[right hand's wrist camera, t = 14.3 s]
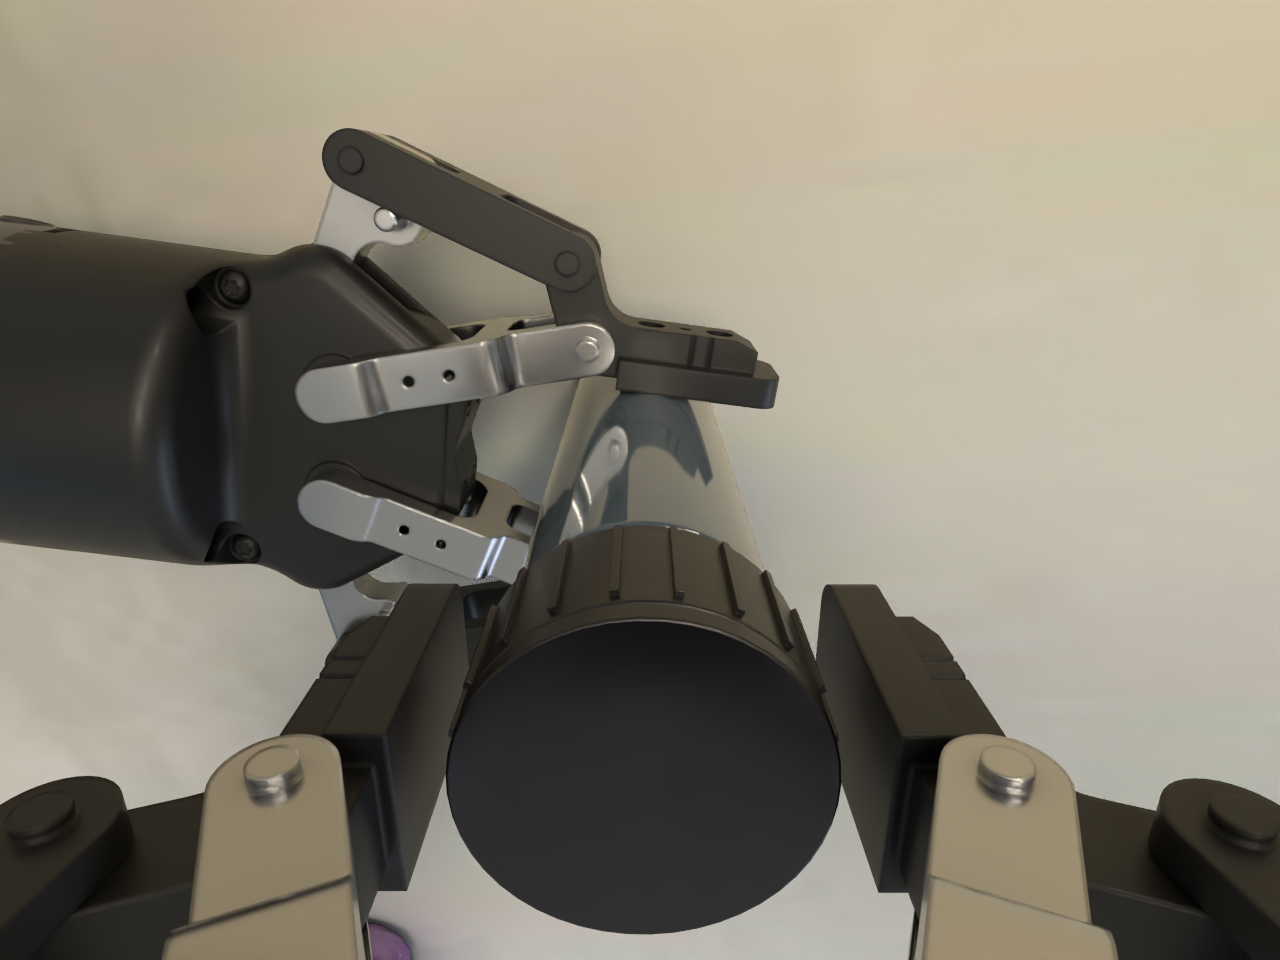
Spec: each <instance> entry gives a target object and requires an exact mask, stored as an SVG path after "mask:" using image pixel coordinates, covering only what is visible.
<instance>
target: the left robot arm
mask: <svg viewBox="0 0 1280 960" xmlns="http://www.w3.org/2000/svg"><path fill="white" fill-rule="evenodd" d="M322 161H323V166H324V169H325V171H326V173H327V175H328V176H329V178H330V179H331V180H332V181H333V182H332V185H331V189H330V192H329V195H328V198H327V202H326V205H325V208H324V211H323V214H322V218H321V221H320V224H319V227H318V231H317V234H316V237H315V240H314V243H313V244H306V245H300V246H296V247H293V248H291V249H289V250H287V251H284V252H282V253H280V254H277V255H257V254H249V253H242V252H235V251H227V250H220V249H212V248H205V247H198V246H190V245H183V244H176V243H168V242H161V241H154V240H146V239H139V238H131V237H124V236H117V235H109V234H101V233H94V232H87V231H80V230H72V229H65V228H58V227H55V226H54V225H52V224H49V223H45V222H41V221H37V220H32V219H27V218H21V217H14V216H3V215H2V216H0V542H2V543H10V544H19V545H27V546H35V547H44V548H53V549H61V550H70V551H79V552H88V553H96V554H105V555H113V556H121V557H130V558H138V559H147V560H155V561H164V562H172V563H180V564H189V565H224V564H258V565H262V566H265V567H268V568H271V569H273V570H276V571H278V572H280V573H282V574H284V575H285V576H287V577H289V578H290V579H292V580H293V581H295V582H297V583H299V584H301V585H303V586H306V587H309V588H314V589H319V591H320V594H321V596H322V599H323V602H324V605H325V608H326V610H327V613H328V616H329V619H330V621H331V624H332V627H333V630H334V633H335V635H336V638H337V642H336V644H335V645H334V647H333V648H332V650H331V651H330V653H329V654H328V656H327V658H326V660H325V665H326V664H327V662H328V660H331V656H332V654H333V653H334V651H335V650H336V648H337V647H338V645H339V644H340V642H341V641H342V639H343V638H344V636H345V634H347V633H348V632H350V631H351V630H352V629H354V628H355V627H357V626H358V625H359V624H361V623H362V622H364V621H365V620H366V619H368V618H369V617H371V616H389V615H390V613H391V612H392V610H393V608H394V606H395V605H396V603H397V601H398V600H399V598H400V596H401V594H402V593H403V591H404V589H405V588H406V586H407V585H408V583H406V582H399V583H385V582H380V581H378V580H376V579H374V578H372V577H371V576H370V575H369V574H368V573H369V572H371V571H373V570H375V569H377V568H379V567H381V566H382V565H384V564H386V563H388V562H390V561H392V560H394V559H396V558H398V557H400V556H402V555H407V556H409V557H412V558H414V559H417V560H420V561H422V562H425V563H428V564H430V565H433V566H435V567H438V568H441V569H443V570H446V571H448V572H451V573H454V574H456V575H459V576H462V577H464V578H468V579H473V580H479V579H483V578H485V577H492V578H496V579H499V580H500V581H493V582H487V583H481V584H474V585H468V586H461V587H460V589H461V593H462V599H463V609H464V620H465V631H466V643H467V654H468V665H469V667H470V664H471V661H472V658H473V656H474V653H475V650H476V647H477V644H478V641H479V639H480V636H481V633H482V630H483V627H484V624H485V622H486V619H487V616H488V613H489V610H490V608H491V606H492V605H495V606H498V604H499V603H500V601H501V599H502V598H503V596H504V595H505V593H506V591H507V590H508V589H509V587H510V586H511V585H512V584H513V583H514V582H515V580H516V578H517V574H518V571H519V570H520V569H521V568H522V565H523V562H524V558H525V555H526V552H527V549H528V545H529V542H530V539H531V536H532V532H533V529H534V526H535V523H536V519H537V516H538V513H539V510H540V505H538V504H535V503H533V502H530V501H528V500H526V499H524V498H522V497H521V496H520V495H519V494H518V492H517V491H516V490H515V489H514V488H512V487H511V486H509V485H507V484H505V483H503V482H500V481H498V480H495V479H493V478H490V477H488V476H485V475H483V474H480V473H478V472H476V469H477V455H476V450H475V446H474V441H473V436H472V432H471V427H472V424H473V421H474V418H475V415H476V413H477V410H478V407H479V404H480V401H481V398H486V397H493V396H498V395H502V394H505V393H508V392H510V391H512V390H515V389H517V388H521V387H526V386H533V385H539V384H546V383H553V382H559V381H566V380H573V379H579V378H586V377H593V376H604V377H612V378H617V380H616V388H615V390H619V391H626V392H634V393H642V394H654V395H660V396H665V397H673V398H680V399H688V400H696V401H704V402H711V403H719V404H727V405H734V406H742V407H750V408H758V409H769V408H773V407H774V402H775V397H776V392H777V387H778V382H779V376H778V375H777V373H776V372H775V370H774V369H773V368H772V366H771V365H770V364H768V363H765V362H762V361H759V360H757V356H758V352H757V351H756V349H755V348H754V346H753V345H752V343H751V342H750V341H749V340H747V339H745V338H743V337H742V336H740V335H738V334H736V333H735V332H733V331H731V330H724V329H717V328H707V327H702V326H695V325H687V324H680V323H672V322H665V321H657V320H650V319H642V318H635V317H631V316H628V315H626V314H624V313H622V312H621V311H620V310H618V309H617V308H616V307H615V305H614V304H613V303H612V301H611V299H610V297H609V294H608V291H607V287H606V282H605V278H604V274H603V269H602V265H601V249H600V245H599V243H598V241H597V239H596V238H595V237H594V236H593V235H592V234H591V233H590V232H588V231H587V230H585V229H583V228H580V227H578V226H576V225H574V224H572V223H570V222H568V221H566V220H564V219H562V218H560V217H558V216H556V215H554V214H552V213H550V212H548V211H546V210H543V209H541V208H539V207H537V206H535V205H533V204H531V203H529V202H527V201H525V200H523V199H521V198H519V197H517V196H515V195H513V194H511V193H509V192H506V191H504V190H502V189H500V188H498V187H496V186H494V185H492V184H490V183H488V182H486V181H484V180H482V179H480V178H478V177H476V176H474V175H472V174H469V173H467V172H465V171H463V170H461V169H459V168H457V167H455V166H453V165H451V164H449V163H447V162H445V161H443V160H441V159H439V158H437V157H435V156H433V155H430V154H428V153H426V152H424V151H422V150H420V149H418V148H416V147H414V146H412V145H410V144H408V143H406V142H404V141H402V140H400V139H398V138H395V137H393V136H389V135H384V134H380V133H375V132H370V131H365V130H357V129H352V128H345V129H340V130H337V131H336V132H334V133H333V134H331V135H330V136H329V137H328V139H327V140H326V142H325V144H324V147H323V152H322ZM430 231H433V232H435V233H437V234H439V235H441V236H443V237H445V238H448V239H450V240H452V241H454V242H456V243H458V244H460V245H462V246H465V247H467V248H469V249H471V250H473V251H475V252H477V253H479V254H482V255H484V256H486V257H488V258H490V259H492V260H494V261H496V262H499V263H501V264H503V265H505V266H507V267H509V268H511V269H513V270H515V271H518V272H520V273H522V274H524V275H526V276H528V277H530V278H532V279H535V280H537V281H539V282H541V283H543V284H545V285H546V288H547V292H548V295H549V299H550V303H551V307H552V311H553V312H552V313H545V314H539V315H533V316H525V317H520V316H509V317H502V318H496V319H489V320H483V321H476V322H470V323H463V324H457V325H450V326H445V325H444V324H443V323H442V322H441V321H439V320H438V319H437V318H436V317H435V316H434V315H433V314H431V313H430V312H429V311H428V310H427V309H426V308H425V307H424V306H422V305H421V304H420V303H419V302H418V301H417V300H416V299H414V298H413V297H412V296H411V295H410V294H409V293H408V292H407V291H405V290H404V289H403V288H402V287H401V286H400V285H399V284H397V283H396V282H395V281H394V280H393V279H392V278H391V277H390V276H388V275H387V274H386V273H385V272H384V271H383V270H382V269H380V268H379V267H378V266H377V265H376V264H375V263H374V262H372V261H371V260H370V259H369V258H368V257H367V255H368V252H369V251H370V250H371V248H372V247H373V246H374V245H376V244H377V243H383V244H387V245H390V246H395V247H402V246H407V245H410V244H414V243H418V242H420V241H422V240H423V239H425V238H426V237H427V236H428V234H429V233H430Z"/></svg>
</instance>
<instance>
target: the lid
mask: <svg viewBox="0 0 1280 960" xmlns="http://www.w3.org/2000/svg"><path fill="white" fill-rule="evenodd" d="M463 688H464V689H463V691H462V694H461V697H460V700H459V703H458V706H457V709H456V712H455V714H454V717H453V720H452V723H451V726H450V729H449V735H448V736H449V737H451V741H450V745H449V749H448V753H447V763H446V787H447V796H448V800H449V805H450V809H451V813H452V817H453V819H454V822H455V824H456V826H457V829H458V831H459V834H460V836H461V838H462V839H463V841H464V843H465V844H466V846H467V848H468V849H469V851H470V853H471V854H472V855H473V857H474V858H475V859H476V860H477V862H478V863H479V864H480V865H481V867H482V868H483V869H484V870H485V871H486V872H487V873H488V874H489V875H490V876H491V877H492V878H493V879H494V880H495V881H496V882H497V883H498V884H499V885H500V886H502V887H503V888H504V889H506V890H507V891H508V892H510V893H511V894H512V895H514V896H515V897H517V898H518V899H520V900H521V901H523V902H525V903H526V904H528V905H530V906H532V907H533V908H535V909H537V910H539V911H541V912H543V913H546V914H548V915H550V916H552V917H555V918H557V919H560V920H563V921H566V922H569V923H572V924H575V925H578V926H582V927H586V928H591V929H595V930H600V931H606V932H615V933H623V934H661V933H674V932H680V931H686V930H691V929H697V928H701V927H704V926H708V925H711V924H715V923H719V922H721V921H724V920H726V919H729V918H732V917H734V916H737V915H739V914H742V913H743V912H745V911H747V910H749V909H751V908H753V907H755V906H757V905H759V904H761V903H762V902H764V901H765V900H767V899H768V898H770V897H771V896H773V895H774V894H776V893H777V892H779V891H780V890H781V889H782V888H784V887H785V886H786V885H787V884H788V883H789V882H791V881H792V880H793V879H794V878H795V877H796V876H797V875H798V874H799V873H800V872H801V871H802V870H803V869H804V867H805V866H806V865H807V864H808V863H809V862H810V861H811V859H812V858H813V856H814V855H815V853H816V852H817V851H818V849H819V848H820V846H821V845H822V843H823V841H824V839H825V837H826V835H827V833H828V831H829V829H830V827H831V825H832V822H833V819H834V816H835V812H836V809H837V806H838V802H839V795H840V788H841V759H840V754H839V748H838V743H837V742H838V741H839V737H838V733H837V730H836V727H835V724H834V721H833V719H832V716H831V713H830V710H829V707H828V705H827V702H826V699H825V696H824V694H823V693H825V692H827V691H826V688H825V685H824V682H823V680H822V677H821V674H820V672H819V669H818V666H817V663H816V661H815V658H814V655H813V653H812V650H811V647H810V644H809V642H808V639H807V636H806V633H805V631H804V628H803V625H802V623H801V620H800V617H799V614H798V612H797V610H796V609H793V610H790V609H789V607H788V605H787V603H786V601H785V599H784V597H783V596H782V594H781V593H780V592H779V590H778V589H777V588H776V586H775V585H774V582H773V579H772V576H771V574H770V573H769V572H768V571H767V570H765V571H764V572H762V571H761V570H760V569H759V568H758V567H757V566H756V565H754V564H753V563H752V562H751V561H749V560H748V559H747V558H745V557H744V556H743V555H741V554H740V553H738V552H736V551H735V550H733V549H731V548H730V545H729V544H728V543H726V542H724V541H722V542H721V543H720V542H717V541H715V540H713V539H710V538H708V537H705V536H703V535H700V534H696V533H692V532H689V531H685V530H681V529H678V527H677V526H671V525H670V527H669V528H668V527H661V526H627V527H622V525H615V526H614V528H611V529H606V530H602V531H597V532H593V533H590V534H587V535H584V536H581V537H578V538H576V539H573V540H571V541H569V539H566V540H564V541H562V542H561V546H559V547H557V548H555V549H553V550H551V551H550V552H548V553H547V554H545V555H544V556H542V557H541V558H539V559H538V560H536V561H535V562H534V563H533V564H532V565H531V566H529V567H528V568H527V569H526V568H525V567H522V568H521V569H520V570H519V571H518V574H517V578H516V580H515V582H514V583H513V584H512V585H511V586H510V587H509V589H508V590H507V591H506V593H505V595H504V596H503V598H502V599H501V601H500V603H499V604H498V606H495V605H492V606H491V608H490V610H489V613H488V616H487V619H486V622H485V624H484V627H483V630H482V633H481V636H480V639H479V641H478V644H477V647H476V650H475V653H474V656H473V658H472V661H471V664H470V667H469V670H468V673H467V675H466V678H465V681H464V684H463Z"/></svg>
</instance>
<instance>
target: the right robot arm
mask: <svg viewBox="0 0 1280 960" xmlns="http://www.w3.org/2000/svg"><path fill="white" fill-rule="evenodd" d="M816 663H817V666H818V669H819V672H820V674H821V677H822V680H823V682H824V685H825V688H826V691H827V692H825V693H823V694H824V696H825V699H826V702H827V705H828V707H829V710H830V713H831V716H832V719H833V721H834V724H835V727H836V730H837V733H838V737H839V741H838V742H837V743H838V748H839V754H840V759H841V783H842V786H843V788H844V791H845V794H846V797H847V800H848V803H849V806H850V809H851V812H852V815H853V818H854V821H855V824H856V827H857V830H858V833H859V836H860V839H861V842H862V845H863V848H864V851H865V854H866V857H867V860H868V863H869V866H870V869H871V872H872V875H873V878H874V881H875V884H876V887H877V890H878V893H909V896H910V899H911V901H912V904H913V907H914V909H915V910H914V916H913V922H912V928H911V934H910V942H909V950H908V958H907V960H1280V805H1278V804H1276V803H1275V802H1273V801H1271V800H1269V799H1267V798H1265V797H1263V796H1261V795H1259V794H1257V793H1254V792H1252V791H1250V790H1247V789H1245V788H1242V787H1239V786H1235V785H1232V784H1229V783H1225V782H1221V781H1215V780H1209V779H1196V778H1193V779H1183V780H1179V781H1175V782H1173V783H1171V784H1169V785H1168V786H1167V787H1166V788H1164V790H1163V792H1162V794H1161V796H1160V799H1159V803H1158V806H1157V810H1156V811H1153V810H1149V809H1144V808H1140V807H1135V806H1131V805H1126V804H1122V803H1117V802H1113V801H1108V800H1104V799H1099V798H1095V797H1092V796H1088V795H1084V794H1082V793H1079V792H1076V791H1075V788H1074V785H1073V783H1072V781H1071V779H1070V777H1069V776H1068V774H1067V773H1066V772H1065V770H1064V769H1063V768H1062V767H1061V766H1060V765H1059V764H1058V763H1057V762H1055V761H1054V760H1053V759H1052V758H1050V757H1049V756H1048V755H1046V754H1044V753H1043V752H1041V751H1039V750H1038V749H1036V748H1034V747H1032V746H1030V745H1028V744H1025V743H1023V742H1020V741H1017V740H1014V739H1011V738H1007V737H1006V736H1005V734H1004V733H1003V731H1002V730H1001V728H1000V727H999V725H998V724H997V722H996V721H995V719H994V718H993V716H992V715H991V713H990V712H989V710H988V709H987V707H986V705H985V704H984V702H983V701H982V699H981V698H980V696H979V695H978V693H977V692H976V690H975V689H974V687H973V686H972V684H971V683H970V681H969V680H966V678H965V674H964V672H963V671H962V669H961V668H960V666H959V665H958V663H957V662H954V660H953V656H952V654H951V653H950V651H949V650H948V648H947V647H946V645H945V644H944V642H943V641H942V639H941V637H940V636H939V635H938V634H936V633H935V632H934V631H932V630H931V629H929V628H928V627H927V626H925V625H924V624H922V623H921V622H920V621H918V620H917V619H915V618H914V617H895V615H894V613H893V611H892V610H891V608H890V606H889V605H888V603H887V601H886V600H885V598H884V596H883V595H882V593H881V591H880V589H879V588H878V587H877V586H876V585H826V586H825V587H824V590H823V593H822V599H821V610H820V620H819V631H818V642H817V653H816ZM468 670H469V665H468V654H467V643H466V631H465V620H464V609H463V599H462V593H461V589H460V586H459V585H458V584H408V585H407V586H406V588H405V589H404V591H403V593H402V594H401V596H400V598H399V600H398V601H397V603H396V605H395V606H394V608H393V610H392V612H391V613H390V615H389V616H371V617H369V618H368V619H366V620H365V621H364V622H362V623H361V624H359V625H358V626H357V627H355V628H354V629H352V630H351V631H350V632H348V633H347V634H345V636H344V638H343V639H342V641H341V642H340V644H339V645H338V647H337V648H336V650H335V651H334V653H333V654H332V656H331V660H328V662H327V664H326V665H325V667H324V668H323V670H322V671H321V673H320V677H319V679H316V680H315V682H314V683H313V685H312V687H311V688H310V690H309V691H308V693H307V694H306V696H305V697H304V699H303V700H302V702H301V703H300V705H299V706H298V708H297V710H296V711H295V713H294V714H293V716H292V717H291V719H290V720H289V722H288V723H287V725H286V726H285V728H284V729H283V731H282V733H281V734H280V736H277V737H273V738H269V739H266V740H263V741H260V742H257V743H255V744H252V745H250V746H248V747H246V748H244V749H242V750H241V751H239V752H237V753H236V754H234V755H232V756H231V757H230V758H228V759H227V760H226V761H225V762H223V763H222V764H221V765H220V766H219V767H218V768H217V769H216V770H215V772H214V773H213V774H212V776H211V777H210V779H209V781H208V783H207V785H206V788H205V792H203V793H200V794H196V795H192V796H189V797H184V798H180V799H175V800H171V801H166V802H162V803H157V804H153V805H148V806H144V807H139V808H135V809H130V810H127V808H126V804H125V801H124V797H123V794H122V791H121V789H120V787H119V786H118V785H117V784H116V783H115V782H113V781H111V780H109V779H106V778H102V777H95V776H79V777H71V778H65V779H61V780H57V781H53V782H49V783H46V784H43V785H40V786H37V787H35V788H32V789H30V790H28V791H25V792H23V793H21V794H19V795H17V796H15V797H13V798H11V799H9V800H8V801H6V802H4V803H3V804H1V805H0V960H373V958H372V950H371V942H370V934H369V928H368V922H367V918H368V915H369V912H370V910H371V907H372V904H373V902H374V899H375V896H376V894H377V891H407V889H408V886H409V883H410V880H411V877H412V874H413V871H414V868H415V865H416V862H417V859H418V856H419V853H420V849H421V846H422V843H423V840H424V837H425V834H426V831H427V828H428V825H429V822H430V819H431V816H432V813H433V810H434V807H435V804H436V801H437V798H438V795H439V792H440V789H441V786H442V783H443V780H444V777H445V774H446V763H447V753H448V749H449V745H450V741H451V737H449V736H448V735H449V729H450V726H451V723H452V720H453V717H454V714H455V712H456V709H457V706H458V703H459V700H460V697H461V694H462V691H463V689H464V688H463V684H464V681H465V678H466V675H467V673H468Z"/></svg>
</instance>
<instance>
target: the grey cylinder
mask: <svg viewBox="0 0 1280 960" xmlns="http://www.w3.org/2000/svg"><path fill="white" fill-rule="evenodd" d="M616 380H617V378H612V377H604V376H593V377H586V378H580V380H579V383H578V386H577V389H576V393H575V396H574V399H573V402H572V406H571V409H570V412H569V415H568V419H567V422H566V425H565V428H564V432H563V435H562V438H561V441H560V445H559V448H558V451H557V454H556V458H555V461H554V464H553V467H552V471H551V474H550V477H549V480H548V484H547V487H546V490H545V493H544V497H543V500H542V503H541V506H540V510H539V513H538V516H537V519H536V523H535V526H534V529H533V532H532V536H531V539H530V542H529V545H528V549H527V552H526V555H525V558H524V562H523V565H522V567H525V568H526V569H527V568H528V567H529V566H531V565H532V564H533V563H534V562H535V561H536V560H538V559H539V558H541V557H542V556H544V555H545V554H547V553H548V552H550V551H551V550H553V549H555V548H557V547H559V546H561V542H562V541H564V540H566V539H569V541H571V540H573V539H576V538H578V537H581V536H584V535H587V534H590V533H593V532H597V531H602V530H606V529H611V528H614V526H615V525H622V527H627V526H661V527H668V528H669V527H670V525H671V526H677V527H678V529H681V530H685V531H689V532H692V533H696V534H700V535H703V536H705V537H708V538H710V539H713V540H715V541H717V542H720V543H721V542H722V541H724V542H726V543H728V544H729V545H730V548H731V549H733V550H735V551H736V552H738V553H740V554H741V555H743V556H744V557H745V558H747V559H748V560H749V561H751V562H752V563H753V564H754V565H756V566H757V567H758V568H759V569H760V570H761V571H762V572H764V568H763V565H762V562H761V559H760V555H759V552H758V549H757V546H756V543H755V540H754V537H753V534H752V531H751V527H750V524H749V521H748V518H747V515H746V512H745V509H744V506H743V502H742V499H741V496H740V493H739V490H738V487H737V484H736V481H735V478H734V474H733V471H732V468H731V465H730V462H729V459H728V456H727V453H726V449H725V446H724V443H723V440H722V437H721V434H720V431H719V428H718V425H717V421H716V418H715V415H714V412H713V409H712V406H711V403H710V402H704V401H696V400H688V399H680V398H673V397H665V396H660V395H654V394H642V393H634V392H626V391H619V390H615V388H616Z"/></svg>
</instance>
